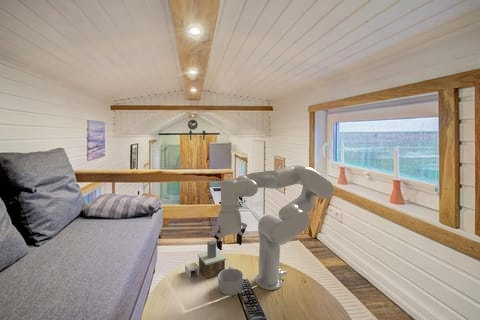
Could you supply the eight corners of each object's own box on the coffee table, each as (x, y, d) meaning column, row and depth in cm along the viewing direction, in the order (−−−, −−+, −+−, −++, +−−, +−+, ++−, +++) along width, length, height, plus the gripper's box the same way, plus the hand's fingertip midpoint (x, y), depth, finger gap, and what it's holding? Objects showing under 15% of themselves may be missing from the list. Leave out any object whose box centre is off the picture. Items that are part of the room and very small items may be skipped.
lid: (216, 251, 129) (216, 236, 128) (225, 259, 120) (226, 244, 119) (197, 255, 123) (197, 240, 123) (206, 265, 114) (206, 249, 114)
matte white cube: (194, 271, 124) (194, 261, 124) (199, 277, 119) (199, 267, 118) (185, 274, 121) (185, 264, 121) (189, 280, 116) (189, 270, 116)
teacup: (240, 301, 102) (240, 282, 101) (214, 298, 104) (215, 280, 103) (245, 281, 116) (245, 265, 115) (222, 279, 117) (222, 263, 117)
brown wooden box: (216, 266, 129) (216, 251, 128) (224, 275, 121) (224, 259, 120) (198, 271, 124) (198, 256, 123) (206, 280, 116) (206, 264, 115)
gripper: (242, 203, 113) (241, 239, 115) (207, 208, 104) (207, 247, 106) (251, 207, 107) (250, 245, 109) (215, 213, 98) (215, 254, 100)
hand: (229, 246), depth 107 cm, fingers open, 9 cm apart
